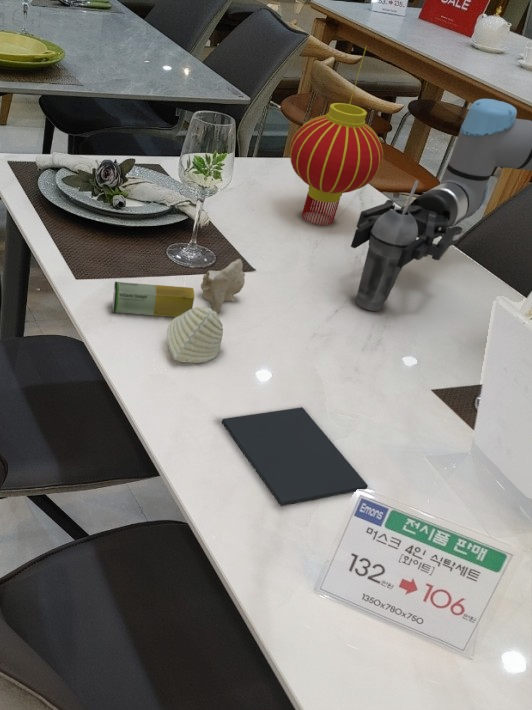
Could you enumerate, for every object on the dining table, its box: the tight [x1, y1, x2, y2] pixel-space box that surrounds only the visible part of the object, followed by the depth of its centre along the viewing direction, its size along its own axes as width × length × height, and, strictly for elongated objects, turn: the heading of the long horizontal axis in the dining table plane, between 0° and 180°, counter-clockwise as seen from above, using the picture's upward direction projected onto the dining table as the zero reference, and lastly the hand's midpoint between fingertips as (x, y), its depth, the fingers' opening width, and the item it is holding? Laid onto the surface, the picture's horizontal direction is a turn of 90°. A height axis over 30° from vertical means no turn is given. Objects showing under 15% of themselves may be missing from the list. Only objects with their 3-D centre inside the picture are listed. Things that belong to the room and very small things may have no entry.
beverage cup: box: [355, 179, 420, 312], centre depth 120 cm, size 7×7×20 cm
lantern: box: [288, 45, 384, 227], centre depth 140 cm, size 17×17×30 cm
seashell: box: [166, 306, 224, 364], centre depth 108 cm, size 8×8×8 cm
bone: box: [200, 258, 246, 315], centre depth 118 cm, size 9×6×10 cm
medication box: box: [111, 281, 195, 318], centre depth 115 cm, size 12×3×4 cm, turn 93°
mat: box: [221, 406, 369, 507], centre depth 95 cm, size 16×12×1 cm
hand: (378, 248), depth 116 cm, fingers closed on beverage cup, 7 cm apart
